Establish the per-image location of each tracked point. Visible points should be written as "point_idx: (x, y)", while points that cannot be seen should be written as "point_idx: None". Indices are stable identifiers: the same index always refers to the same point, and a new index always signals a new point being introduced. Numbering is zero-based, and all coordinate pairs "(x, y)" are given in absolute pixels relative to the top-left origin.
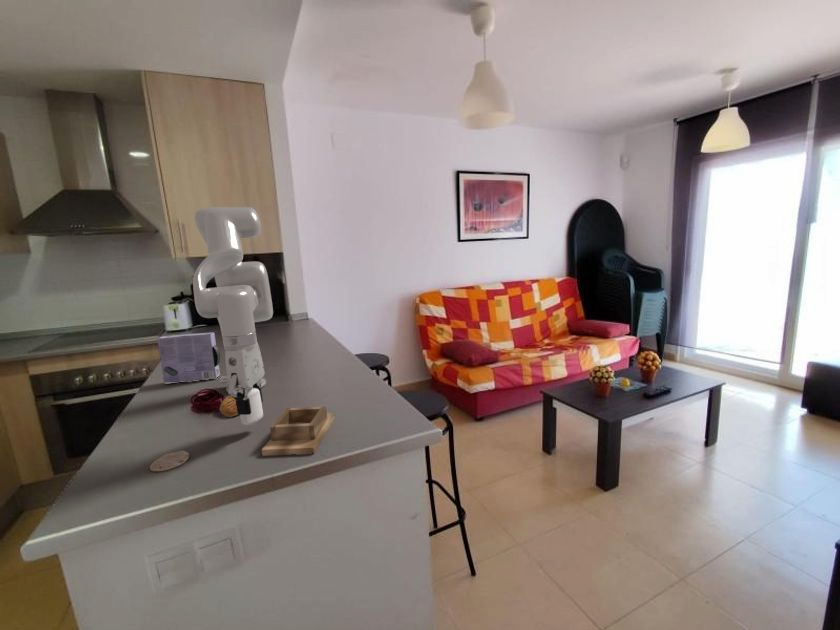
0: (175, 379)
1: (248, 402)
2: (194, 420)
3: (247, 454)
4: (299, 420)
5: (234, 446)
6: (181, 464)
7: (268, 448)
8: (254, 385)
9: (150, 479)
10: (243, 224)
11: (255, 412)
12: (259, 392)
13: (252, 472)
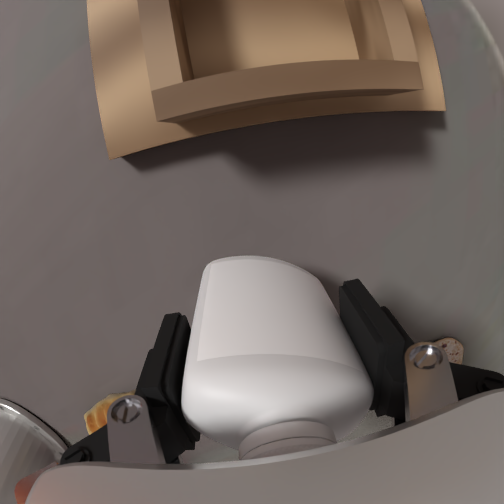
0: None
1: (391, 325)
2: (211, 459)
3: (425, 176)
4: (187, 50)
5: (373, 264)
6: (449, 337)
7: (436, 86)
8: (163, 442)
9: (479, 348)
10: None
11: (281, 282)
12: (201, 359)
13: (495, 105)
